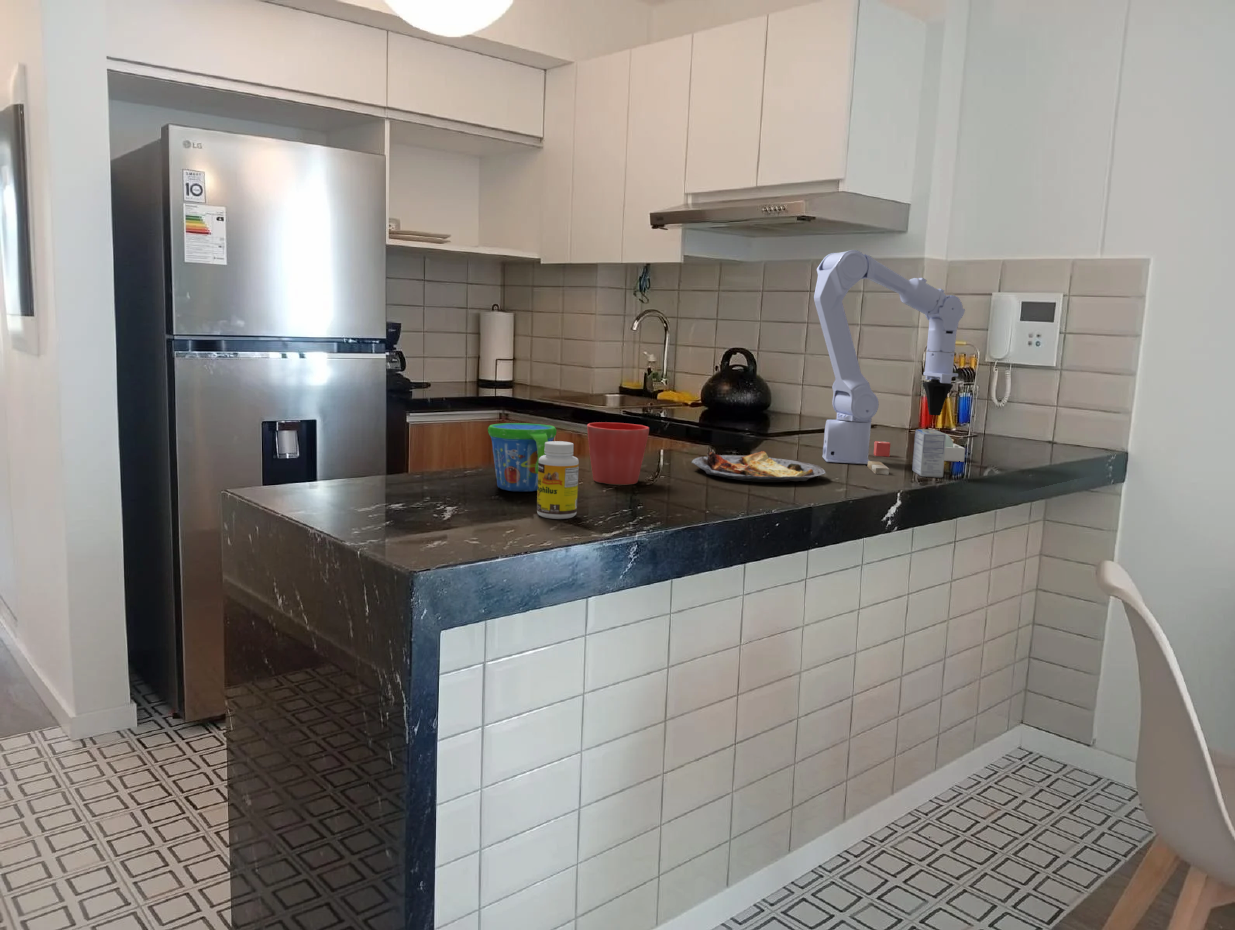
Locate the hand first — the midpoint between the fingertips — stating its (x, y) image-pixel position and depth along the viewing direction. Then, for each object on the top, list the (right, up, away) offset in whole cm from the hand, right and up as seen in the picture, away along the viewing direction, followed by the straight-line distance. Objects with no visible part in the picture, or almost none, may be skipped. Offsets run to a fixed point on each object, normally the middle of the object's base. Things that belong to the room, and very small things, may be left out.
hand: (934, 415), depth 200 cm
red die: (-9, -9, +10) cm, 16 cm away
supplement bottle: (-77, -18, -72) cm, 107 cm away
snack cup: (-84, -15, -52) cm, 100 cm away
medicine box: (-7, -13, -16) cm, 22 cm away
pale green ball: (+4, -9, +10) cm, 14 cm away
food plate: (-43, -13, -26) cm, 52 cm away
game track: (-16, -12, -14) cm, 25 cm away
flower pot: (-69, -14, -41) cm, 81 cm away
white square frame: (+4, -9, +10) cm, 14 cm away
